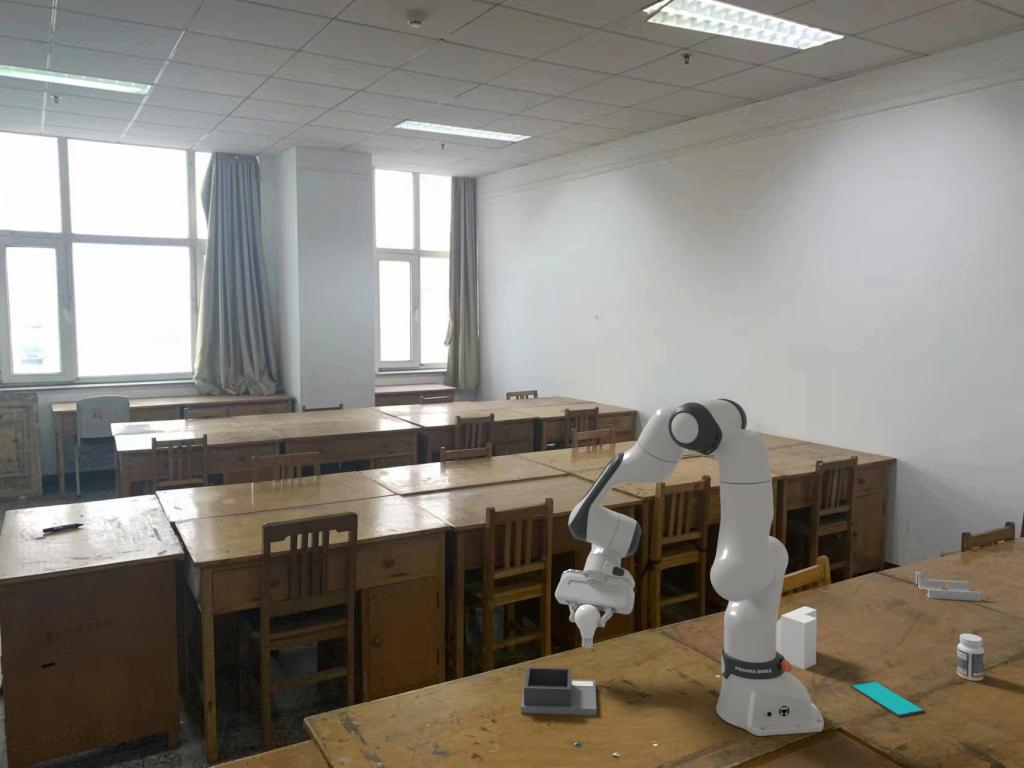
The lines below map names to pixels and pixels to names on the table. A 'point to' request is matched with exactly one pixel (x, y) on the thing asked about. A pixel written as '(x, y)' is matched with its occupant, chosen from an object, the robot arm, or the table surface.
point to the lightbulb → (587, 623)
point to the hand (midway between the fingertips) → (586, 623)
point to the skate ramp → (954, 589)
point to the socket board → (557, 692)
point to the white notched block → (798, 637)
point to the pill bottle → (970, 657)
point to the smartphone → (887, 699)
